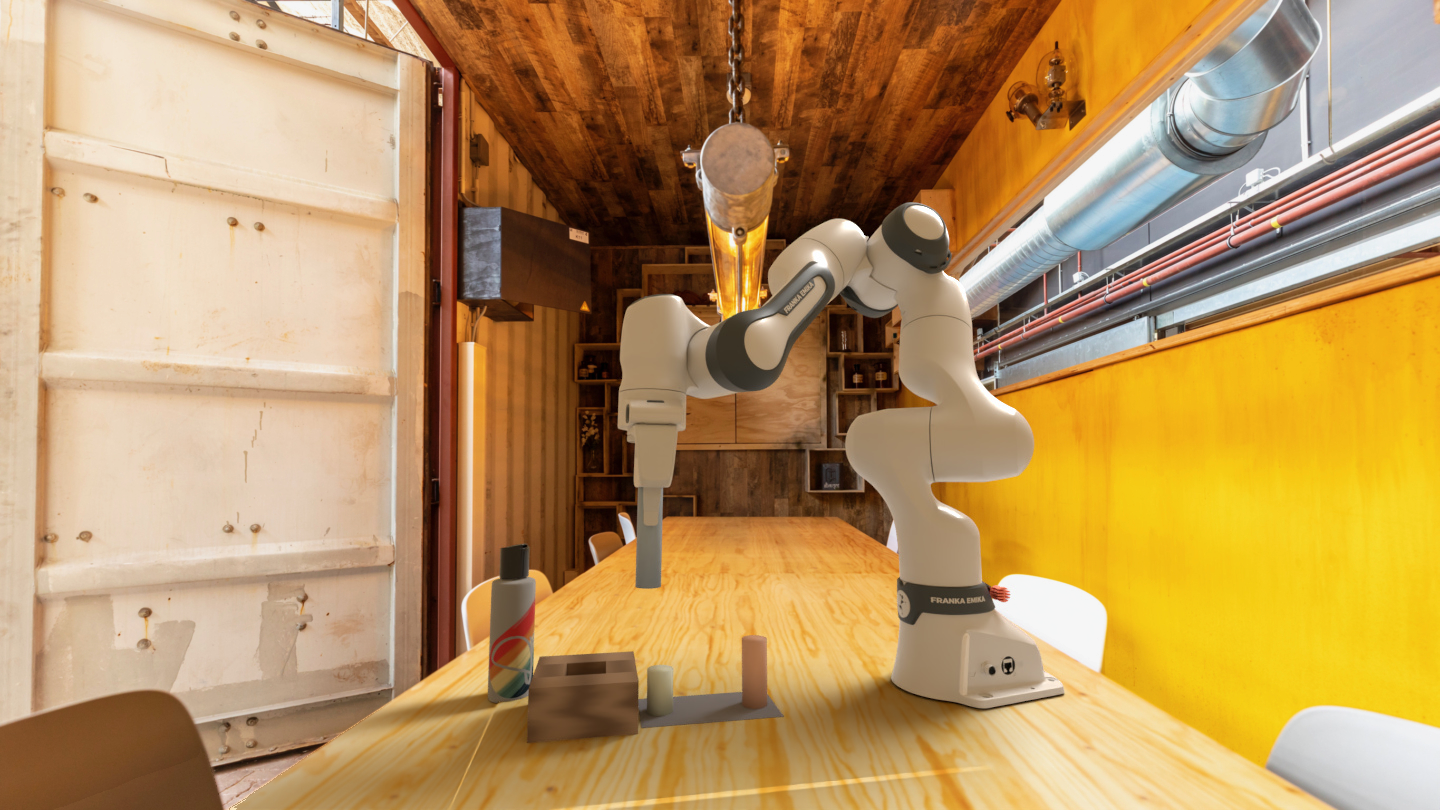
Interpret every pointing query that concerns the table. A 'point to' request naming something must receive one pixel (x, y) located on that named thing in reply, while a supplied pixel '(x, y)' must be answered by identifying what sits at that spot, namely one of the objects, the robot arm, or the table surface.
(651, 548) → the pin long
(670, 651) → the table surface
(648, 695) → the pin short
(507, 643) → the lotion bottle
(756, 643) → the pin medium
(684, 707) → the mat
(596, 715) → the socket block
